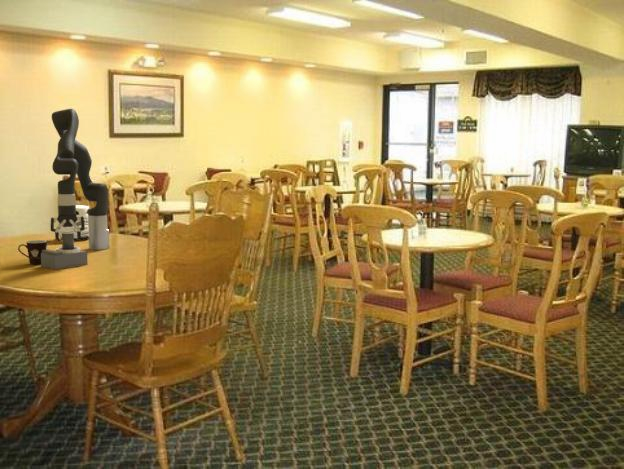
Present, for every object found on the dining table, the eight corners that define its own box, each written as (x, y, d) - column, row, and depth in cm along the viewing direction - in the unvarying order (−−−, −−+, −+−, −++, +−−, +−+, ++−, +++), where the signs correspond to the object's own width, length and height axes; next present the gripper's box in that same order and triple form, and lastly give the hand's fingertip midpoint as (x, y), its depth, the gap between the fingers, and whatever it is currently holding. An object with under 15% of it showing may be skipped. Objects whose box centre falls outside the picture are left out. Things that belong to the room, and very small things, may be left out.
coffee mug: (51, 262, 322) (51, 240, 320) (38, 266, 313) (37, 243, 312) (30, 260, 325) (30, 239, 324) (17, 264, 317) (16, 241, 316)
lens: (61, 251, 318) (61, 231, 316) (74, 250, 320) (73, 230, 318) (62, 252, 313) (61, 232, 312) (74, 252, 315) (74, 232, 314)
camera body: (73, 261, 325) (72, 245, 324) (87, 264, 319) (87, 248, 317) (41, 266, 313) (40, 249, 312) (55, 269, 306) (54, 252, 305)
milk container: (85, 242, 381) (84, 208, 379) (53, 241, 381) (52, 208, 379) (95, 237, 398) (95, 205, 396) (65, 236, 399) (64, 204, 396)
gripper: (83, 202, 319) (84, 238, 322) (49, 203, 314) (50, 239, 316) (84, 204, 312) (85, 240, 315) (49, 205, 307) (51, 242, 310)
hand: (68, 240), depth 316 cm, fingers open, 8 cm apart
